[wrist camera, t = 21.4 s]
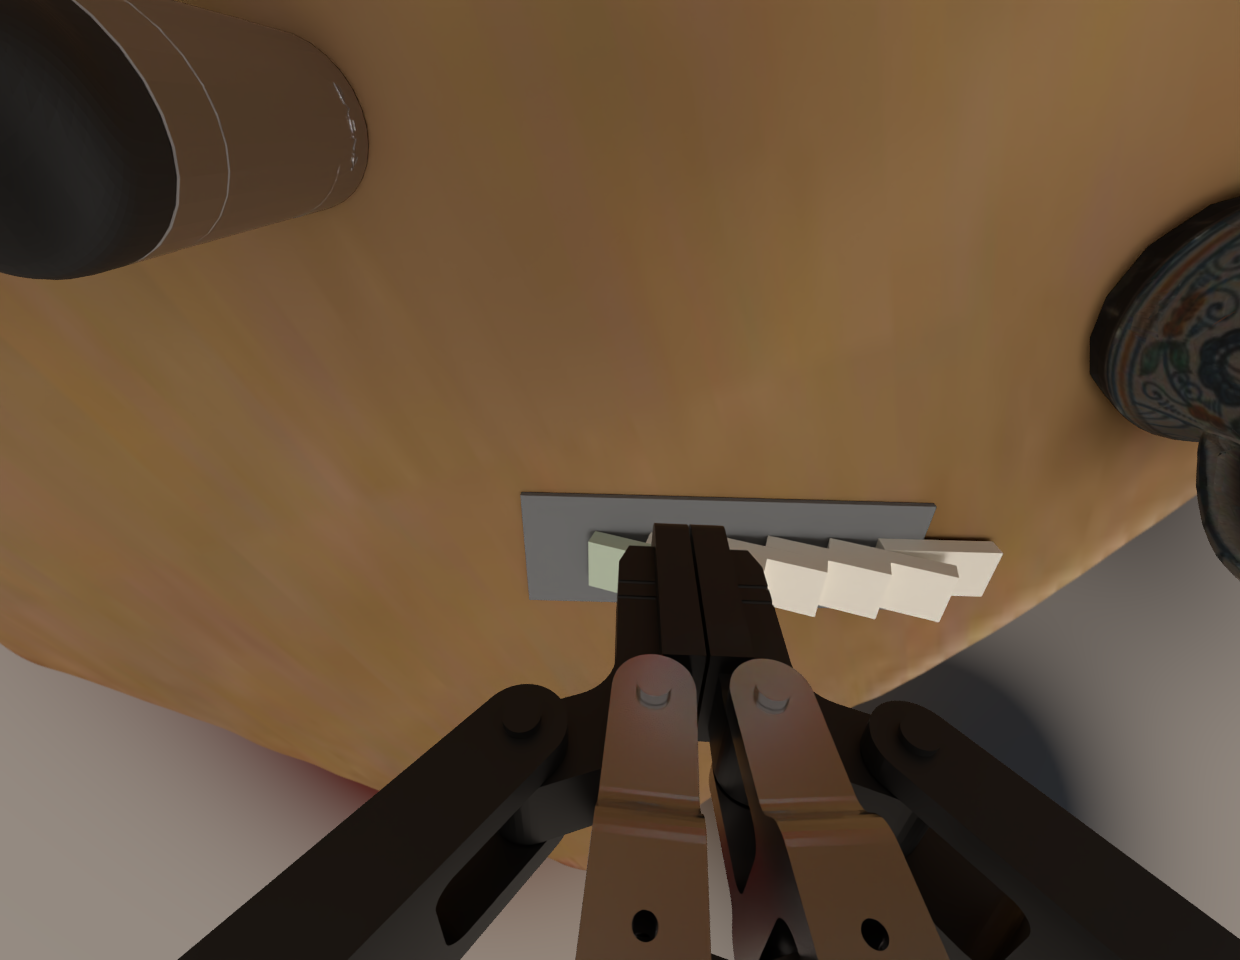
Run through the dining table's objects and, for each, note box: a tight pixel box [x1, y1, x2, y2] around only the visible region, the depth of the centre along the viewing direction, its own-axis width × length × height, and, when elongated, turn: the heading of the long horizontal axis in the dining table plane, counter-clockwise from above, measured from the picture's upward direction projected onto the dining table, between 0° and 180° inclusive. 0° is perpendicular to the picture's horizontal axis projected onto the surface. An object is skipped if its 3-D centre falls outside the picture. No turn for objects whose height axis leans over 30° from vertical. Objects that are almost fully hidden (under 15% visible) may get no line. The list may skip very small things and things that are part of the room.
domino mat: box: [521, 492, 936, 609], centre depth 51 cm, size 35×12×1 cm, turn 89°
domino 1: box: [588, 531, 651, 593], centre depth 48 cm, size 2×5×10 cm
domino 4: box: [827, 538, 959, 622], centre depth 48 cm, size 2×5×10 cm
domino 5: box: [875, 538, 1003, 596], centre depth 50 cm, size 2×5×10 cm
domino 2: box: [727, 538, 828, 617], centre depth 49 cm, size 2×5×10 cm
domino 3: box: [766, 535, 892, 619], centre depth 49 cm, size 2×5×10 cm
